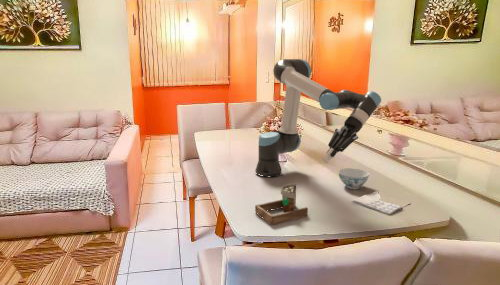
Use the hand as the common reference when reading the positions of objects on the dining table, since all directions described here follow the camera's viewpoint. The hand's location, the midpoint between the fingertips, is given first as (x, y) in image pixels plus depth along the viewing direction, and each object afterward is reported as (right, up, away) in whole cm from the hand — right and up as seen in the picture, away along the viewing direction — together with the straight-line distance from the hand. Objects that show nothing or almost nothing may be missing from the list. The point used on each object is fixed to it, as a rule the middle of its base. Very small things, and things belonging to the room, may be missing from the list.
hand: (324, 161), depth 150 cm
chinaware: (+20, -15, +27) cm, 36 cm away
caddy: (-20, -22, -6) cm, 30 cm away
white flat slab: (+27, -20, +6) cm, 34 cm away
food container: (-17, -21, -2) cm, 27 cm away
